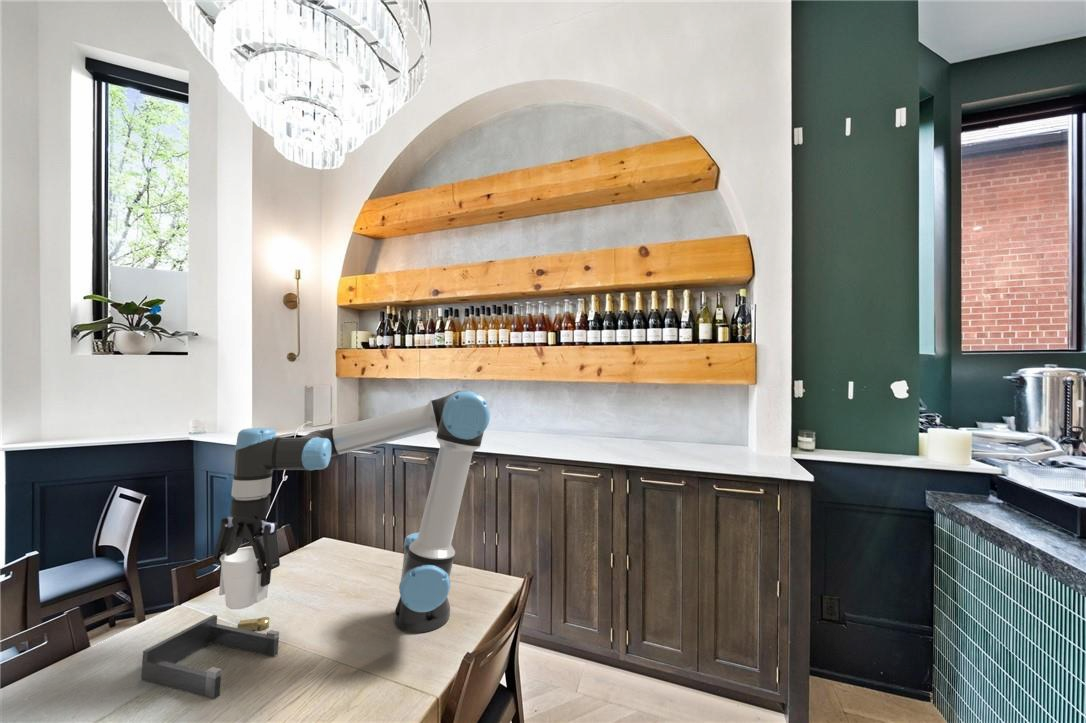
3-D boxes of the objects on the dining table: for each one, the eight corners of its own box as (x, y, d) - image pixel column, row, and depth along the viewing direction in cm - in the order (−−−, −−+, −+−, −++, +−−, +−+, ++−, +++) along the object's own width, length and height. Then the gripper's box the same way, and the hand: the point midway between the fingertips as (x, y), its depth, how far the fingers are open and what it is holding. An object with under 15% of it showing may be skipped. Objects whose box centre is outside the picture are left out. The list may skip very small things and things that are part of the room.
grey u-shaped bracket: (277, 654, 102) (279, 628, 102) (213, 699, 87) (216, 668, 87) (211, 639, 107) (213, 614, 107) (140, 679, 92) (143, 651, 92)
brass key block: (270, 624, 114) (270, 616, 115) (266, 629, 112) (267, 621, 112) (240, 627, 113) (241, 619, 113) (236, 633, 110) (236, 625, 110)
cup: (260, 588, 104) (264, 542, 105) (274, 603, 98) (278, 554, 98) (210, 603, 96) (214, 553, 97) (222, 620, 90) (226, 566, 91)
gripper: (303, 497, 99) (295, 596, 98) (230, 487, 105) (221, 581, 104) (275, 505, 92) (267, 613, 91) (198, 494, 98) (189, 595, 96)
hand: (243, 596), depth 97 cm, fingers closed on cup, 9 cm apart
